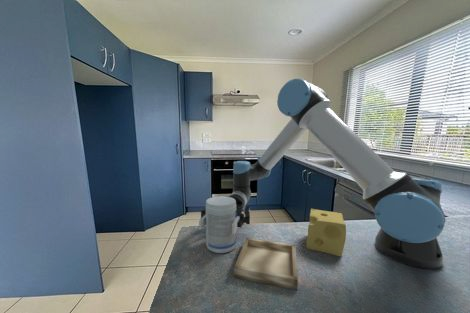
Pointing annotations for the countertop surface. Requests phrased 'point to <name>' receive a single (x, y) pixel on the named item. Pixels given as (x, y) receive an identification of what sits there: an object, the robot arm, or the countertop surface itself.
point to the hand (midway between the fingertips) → (216, 227)
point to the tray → (267, 263)
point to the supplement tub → (220, 224)
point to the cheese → (326, 232)
